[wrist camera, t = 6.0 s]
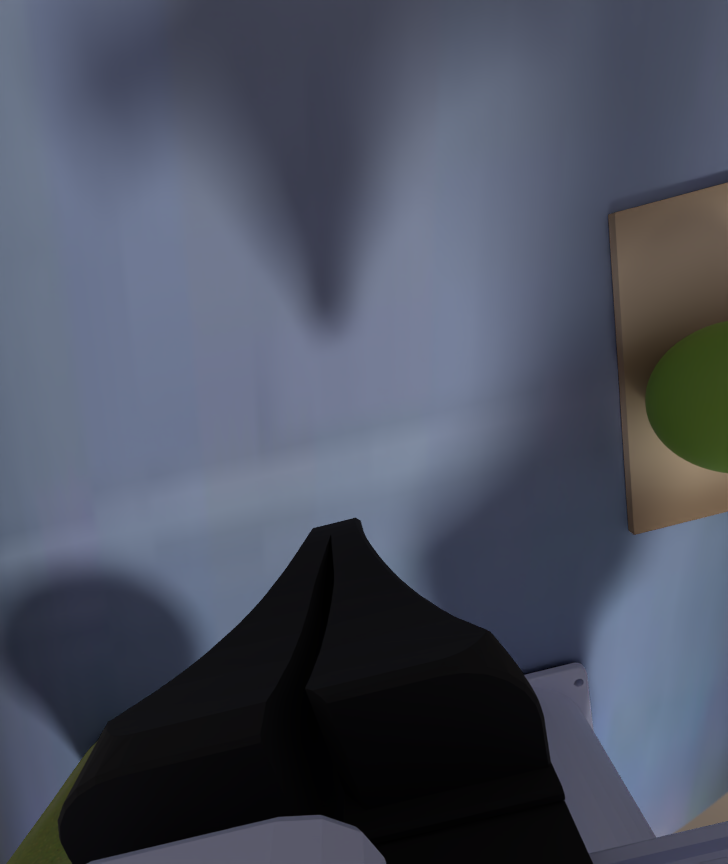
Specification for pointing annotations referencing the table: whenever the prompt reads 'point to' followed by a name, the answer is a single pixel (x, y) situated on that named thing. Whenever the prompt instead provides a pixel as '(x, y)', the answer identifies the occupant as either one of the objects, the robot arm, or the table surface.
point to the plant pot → (48, 829)
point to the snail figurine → (693, 398)
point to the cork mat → (665, 340)
